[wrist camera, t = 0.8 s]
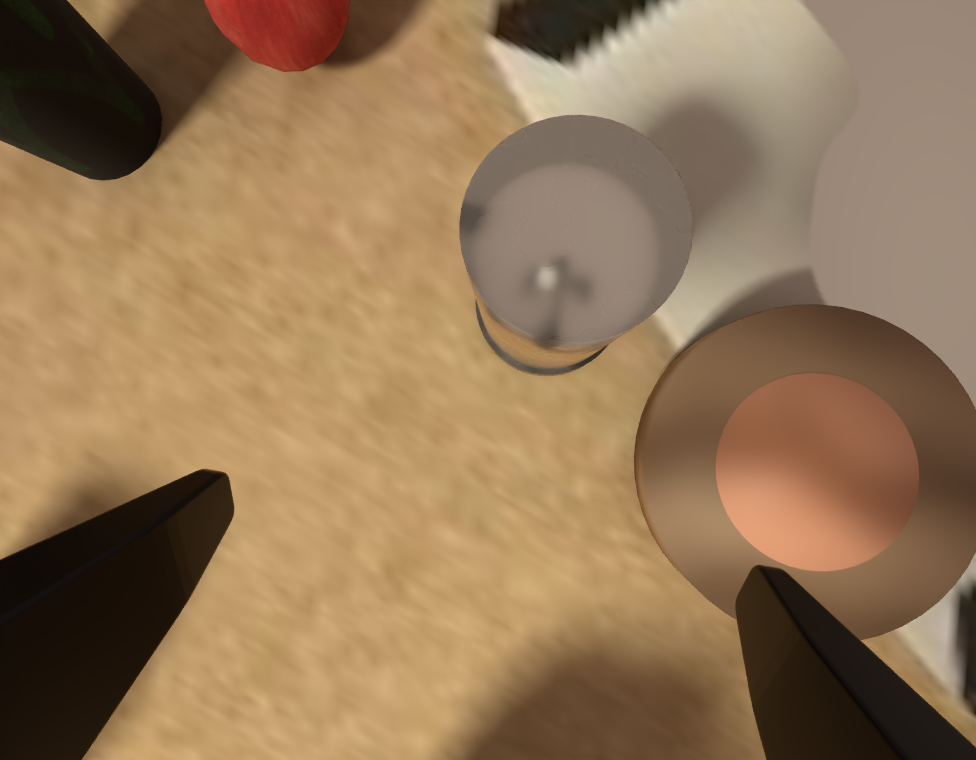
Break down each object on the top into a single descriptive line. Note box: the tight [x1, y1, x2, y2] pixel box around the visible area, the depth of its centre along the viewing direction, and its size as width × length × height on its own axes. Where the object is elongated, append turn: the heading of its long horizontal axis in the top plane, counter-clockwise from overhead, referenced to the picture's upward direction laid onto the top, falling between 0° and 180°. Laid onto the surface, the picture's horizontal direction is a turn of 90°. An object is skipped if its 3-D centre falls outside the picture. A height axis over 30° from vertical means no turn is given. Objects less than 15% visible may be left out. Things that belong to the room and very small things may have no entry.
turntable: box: [634, 305, 976, 640], centre depth 20 cm, size 13×13×3 cm
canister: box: [460, 115, 693, 376], centre depth 18 cm, size 6×6×10 cm
